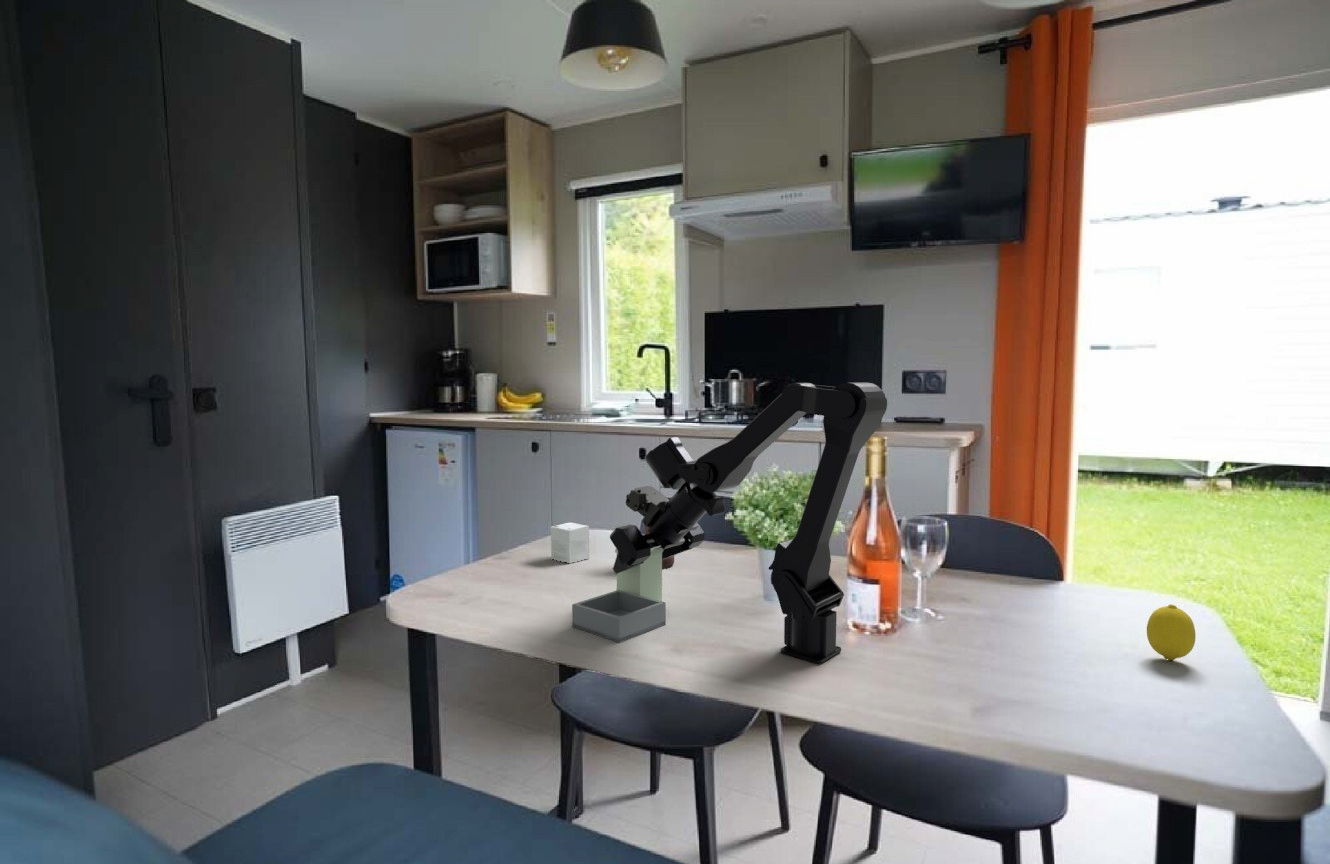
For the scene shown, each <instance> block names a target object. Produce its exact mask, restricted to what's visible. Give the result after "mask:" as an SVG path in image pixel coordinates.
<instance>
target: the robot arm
mask: <svg viewBox="0 0 1330 864" xmlns="http://www.w3.org/2000/svg"><path fill="white" fill-rule="evenodd" d="M887 408H888V399H887V397H886V394H885V393H884V391H883V390H882V389H881V387H880V386H879V385H877V384H874V383H873V382H872V383H871V382H866V381H865V382H859V381H858V382H843V383H840V384H838V385H835V386H828V385H819V384H818V385H817V384H813V383H811V382H794V383H793V382H792V383H789V384H788V385H787V386H785V387H784V388H783V390H782V392H781V393H780V394H779V395H778V396H777V397H776V398H775V399H774V400H773V401H772V402H771V403H770V404H769V405H767V406H766V407H765V408H764V409H763V410H762V411H761V412H760V413H759V414H758V415H757V416H756V417H754V419H752V420H751V421H749V423H748V424H747V425H746V426H745V427H744V428H743V429H742V430H741V431H739V432H738V434H736V435H735V436H734V437H733V438H732V439H730V440H729V441H727V442H725V443H723V444H721V445H719V446H716V447H714V448H712V449H711V450H709V451H707V452H706V453H704V454H702V455H701V456H699V457H698V458H697V459H696V460H695V459H693V458H692V457H691V455H690V454H689V452H688V451H687V450H686V448H685V447H684V445H683V442H682V441H681V440H680V438H679V437H677V436H676V437H675V436H673V437H669V438H668V439H667V440H666V441H664V442H662V443H660V444H659V445H657V446H656V447H655V448H653V449H650V450H649V452H648V453H647V454H646V456H645V458H644V459H645V463H646V464H647V465H648V467H649V468H650V469H651V471H652V472H653V474H654V476H655V477H656V478H657V480H658V481H659V482H660V484H661V485H662V487H664V489H670V488H671V489H672V490H677V491H676V492H675V493H674V494H673V495H672V496H671V497H670V498H671V499H670V500H668V498H669V497H667V496H666V495H665V494H663V493H662V492H661V491H659V490H658V489H656V488H655V487H653V486H652V485H651V486H650V485H646V486H640V487H635V488H634V489H632V490H630V492H629V493H628V494H626V497H625V498H626V500H625V505H626V507H628V508H629V509H630V510H632V511H633V512H638V514H640V515H641V516H643V519H642V520H641V521H642V523H643V525H644V527H645V526H648V527H649V528H648V531H649V534H646V535H645V534H642V532H641V530H640V529H639V528H638V527H637V525H635V524H627V525H622V526H617V527H615V528H614V530H613V531H612V532H611V534H609V539H610V541H611V542H612V544H613V546H614V547H615V549H617V550H618V554H617V553H616V558H615V560H614V564H613V567H612V570H613V572H614V573H615V574H616V575H617V574H618V573H620V572H623V571H625V570H628V569H630V568H633V567H635V566H638V565H640V564H643V563H644V562H643V561H645V560H647V559H648V558H649V557H650V555H651V549H653V548H657V547H660V548H663V552H662V560H663V559H665V558H668V557H671V556H674V557H675V556H676V555H678V554H682V553H685V552H687V551H690V550H692V549H694V548H697V547H700V545H701V544H702V543H703V542H704V541H705V531H704V530H703V528H702V527H701V526H700V524H699V523H698V522H699V521H700V520H701V519H702V518H703V516H704V515H706V513H707V514H708V516H710V517H713V516H717V515H723V514H724V513H725V512H726V509H725V504H724V499H725V498H724V497H723V496H718V495H717V494H716V493H715V492H720V491H724V490H731V489H734V488H737V487H738V486H740V485H741V483H742V482H743V481H744V480H745V479H746V477H747V475H748V474H749V473H750V472H751V471H752V467H753V464H754V462H755V461H756V459H757V458H758V457H759V456H760V455H761V454H762V453H764V452H765V450H767V449H768V448H769V447H770V446H771V445H773V443H774V442H776V441H777V440H778V439H779V438H780V437H782V435H783V434H785V433H786V432H787V431H788V430H790V428H791V427H793V425H795V424H796V423H797V422H798V421H799V420H800V419H802V418H803V417H804V416H805V415H806V414H811V415H817V416H822V417H823V420H822V425H823V432H824V439H825V441H824V442H825V443H824V447H823V450H822V453H821V457H820V459H819V462H818V465H817V469H816V471H815V475H814V477H813V481H812V484H811V487H810V490H809V493H808V497H807V500H806V503H805V506H804V510H803V512H802V515H801V519H800V522H799V525H798V527H797V531H796V534H795V535H794V537H793V538H791V539H787V540H784V541H782V542H779V543H777V545H776V548H775V551H774V556H773V557H774V558H773V561H772V563H771V564H770V565H769V567H768V570H770V571H771V575H770V584H771V585H772V587H773V589H774V592H775V593H776V595H777V598H778V603H779V606H780V610H781V613H782V614H783V615H785V616H784V618H783V621H784V623H783V624H784V625H783V629H784V630H783V631H784V633H783V644H784V646H783V647H781V648H780V653H781V654H785V655H789V656H792V657H794V658H795V657H796V658H799V659H801V660H805V661H809V662H811V663H814V664H815V663H816V664H823V663H824V662H825V661H827V660H829V659H831V658H832V657H834V656H835V655H837V654H839V653H840V652H842V647H841V646H838V645H837V611H836V610H833V609H834V608H837V607H840V606H841V604H842V602H843V600H844V596H845V593H844V592H843V590H842V589H841V588H840V586H839V585H838V584H837V583H836V582H835V580H834V578H832V576H831V575H830V571H831V564H832V563H831V562H832V558H831V551H830V540H831V537H832V534H833V531H834V528H835V525H836V522H837V519H838V517H839V514H840V510H841V508H842V504H843V502H844V499H845V495H846V493H847V490H848V487H849V485H850V484H849V483H850V481H851V478H852V474H853V471H854V469H855V466H856V463H857V459H858V457H859V453H860V452H861V450H862V449H863V447H864V446H865V444H867V442H868V440H870V438H871V437H872V436H873V434H874V433H875V432H876V431H877V428H878V427H879V426H880V423H881V421H882V419H883V417H884V415H886V412H887Z"/></svg>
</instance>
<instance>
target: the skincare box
mask: <svg viewBox="0 0 1330 864" xmlns="http://www.w3.org/2000/svg"><path fill="white" fill-rule="evenodd" d="M550 553H551V560H552V559H554V560H553V561H556V560H557V562H560V561H561V563H564V562H567V563H566V564H568V563H571V562H575V563H578V562H577V561H579V562H582V561H581V560H583V561H585V560H584V559H587V560H588V558H589V559H590V555H591V554H590V526H589V525H586V524H585V525H584V524H580V523H575V522H565V523H562V524H561V523H560V524H557V525H552V526H550ZM571 564H572V563H571Z"/></svg>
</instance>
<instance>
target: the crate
mask: <svg viewBox="0 0 1330 864" xmlns="http://www.w3.org/2000/svg"><path fill="white" fill-rule="evenodd" d="M571 604H572V605H571V611H572V612H571V613H572V614H571V615H572V619H571V622H572V628H575V629H578V630H581V631H584V632H588V633H590V634H593V635H596V636H599V637H601V638H604V639H605V638H606V639H608V640H611V641H613V642H617V643H620V644H621V643H622V642H624V641H627V640H630V639H633V638H635V637H637V636H640V635H643V634H645V633H648V632H650V631H653V630H655V629H657V628H660V627H663V626H666V623H667V619H666V613H667V612H666V611H667V609H666V602H665V601H663V600H662V601H659V600H655V599H651V598H648V597H644V596H640V595H636V594H633V593H629V592H625V591H622V590H617V589H616V590H613V591H610V592H606V593H605V594H601V595H600V594H599V595H598V596H595V597H591V598H587V599H585V600H582V601H578V602H575V603H571Z"/></svg>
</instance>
